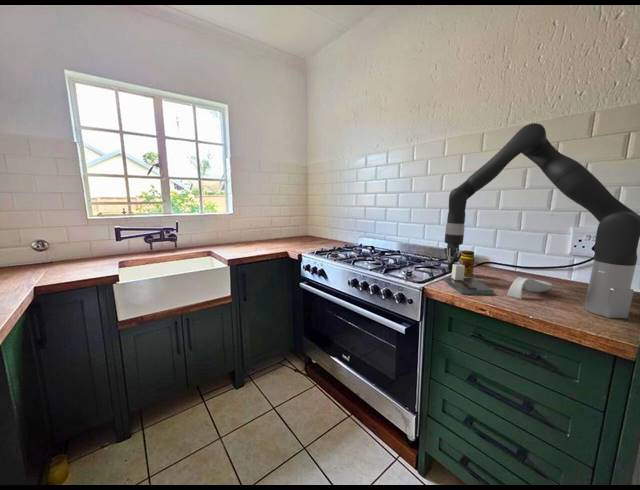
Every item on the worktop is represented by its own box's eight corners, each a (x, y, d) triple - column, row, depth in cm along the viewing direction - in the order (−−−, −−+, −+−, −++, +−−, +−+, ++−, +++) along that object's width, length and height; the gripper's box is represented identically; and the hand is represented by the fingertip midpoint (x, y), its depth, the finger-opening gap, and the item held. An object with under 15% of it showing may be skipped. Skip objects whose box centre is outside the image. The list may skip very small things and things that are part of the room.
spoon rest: (522, 284, 120) (524, 268, 119) (555, 291, 111) (558, 274, 109) (497, 294, 107) (499, 276, 106) (533, 303, 97) (536, 284, 96)
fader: (463, 280, 116) (464, 266, 115) (454, 280, 116) (456, 265, 115) (459, 277, 119) (461, 264, 118) (451, 277, 119) (452, 263, 118)
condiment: (458, 276, 130) (461, 252, 127) (456, 272, 137) (458, 248, 135) (475, 278, 127) (478, 253, 125) (472, 273, 135) (475, 250, 133)
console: (492, 295, 105) (493, 288, 104) (461, 294, 105) (462, 287, 105) (471, 282, 121) (472, 276, 120) (444, 281, 121) (445, 275, 121)
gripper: (470, 235, 114) (465, 274, 118) (456, 231, 127) (452, 266, 131) (452, 235, 115) (448, 274, 118) (440, 231, 128) (436, 266, 131)
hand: (450, 270), depth 124 cm, fingers closed
